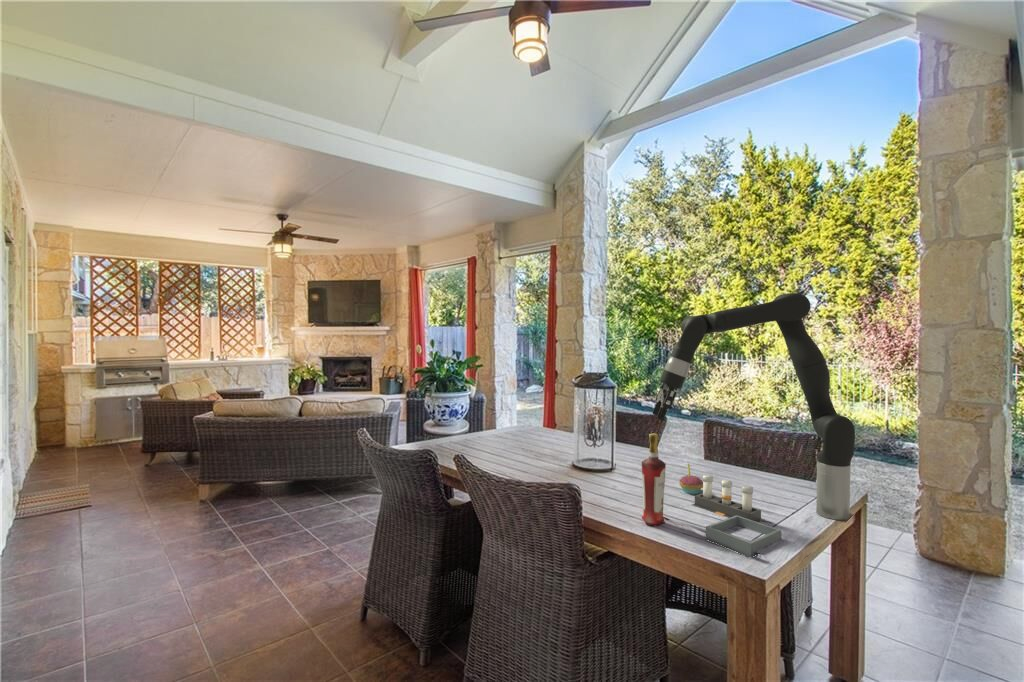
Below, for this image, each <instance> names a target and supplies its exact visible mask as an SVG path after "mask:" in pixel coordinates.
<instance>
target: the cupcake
mask: <svg viewBox="0 0 1024 682" xmlns="http://www.w3.org/2000/svg"><path fill="white" fill-rule="evenodd" d="M690 468H691V467H690V463H689V462H687V473H688V475H683V476H682V477H681V478H680V479H679V483H678V484H679V486H680V487H681V489H682V491H683V493H685V494H690V495H698V494H700V491H701V489H703V479H701V478H699V477H697V476H696V475H695V476H694V475H691V469H690Z"/></svg>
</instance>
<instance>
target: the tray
mask: <svg viewBox="0 0 1024 682" xmlns="http://www.w3.org/2000/svg"><path fill="white" fill-rule="evenodd" d="M736 526H740V527H742V528H745V529H748V530H751V531H753V532H756V533H757V532H758V534H759V533H760V534H763V535H762V536H760V537H758V538H756V539H753V540H751V541H749V540H746V539H744V538H740V537H738V536H735V535H732V534H729V533H727V532H724V531H725V530H728V529H730V528H732V527H733V528H734V527H736ZM706 540H709V541H711V542H714V543H717V544H719V545H722V546H724V547H726V548H729V549H731V550H733V551H736V552H738V553H740V554H739V555H741V554H743V555H745V556H744V557H746V556H748V557H753V556H755V555H757V556H758V554H759V555H761V553H760V552H757V551H758V550H760V549H763V548H765V547H767V546H770V545H771V544H773V543H776V542H778V541H780V540H782V529H779V528H777V527H773V526H769V525H767V524H764V523H761V522H755V521H752V520H749V519H746V518H743V517H740V516H737V515H736V516H733V517H730V518H728V517H727V518H726V519H722V520H720V521H717V522H715V523H713V524H709V525H707V526H705V541H706ZM709 541H708V542H709ZM711 542H710V543H711ZM714 543H713V544H714ZM719 545H718V546H719ZM724 547H723V548H724ZM726 548H725V549H726ZM731 550H730V551H731ZM733 551H732V552H733ZM736 552H735V553H736ZM738 553H737V554H738ZM743 555H742V556H743ZM748 557H747V558H748ZM755 557H756V556H755ZM753 558H754V557H753Z"/></svg>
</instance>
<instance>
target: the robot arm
mask: <svg viewBox="0 0 1024 682" xmlns="http://www.w3.org/2000/svg"><path fill="white" fill-rule="evenodd" d="M810 311H811V301H810V300H809V298H808V297H807V296H805V295H804V294H802V293H798V292H789V293H782V294H778V296H776V297H775V298H773V300H771V301H769V302H768V301H767V302H764V303H759V304H753V305H747V306H739V307H734V308H728V309H722V310H718V311H715V312H711V313H705V314H698V315H692V316H687V317H686V318H684V319H683V320H682V321H681V324H680V331H681V335H680V337H679V340H678V341H676V343H675V344H674V346H673V348H672V350H671V353H670V356H669V357H668V360H667V362H666V364H665V367H664V368H663V371H662V374H661V375H660V378H659V382H660V383H663V384H664V385H660V388H659V390H658V393H657V395H656V397H655V400H654V401H655V405H654V408H653V409H652V412H651V413H652V415H654V416H656V419H658V420H660V421H664V420H665V417H666V414H667V413H668V411H669V410H671V409H672V405H673V403H674V400H675V398H676V396H677V391H676V390H675V389H677V390H682V388H683V386H684V384H685V382H686V379H687V376H688V374H689V372H690V367H691V364H692V362H693V359H694V357H695V354H696V351H697V349H698V348H699V346H700V345H701V343H702V341H703V339H704V337H705V335H708V334H713V333H723V332H727V331H728V332H729V331H733V330H737V329H741V328H742V329H743V328H746V327H747V328H748V327H750V326H754V325H759V324H766V323H770V322H776V324H777V326H778V328H779V330H780V332H781V335H782V336H783V339H784V342H785V346H786V347H787V352H788V353H789V357H790V359H791V363H792V366H793V368H794V371H795V374H796V376H797V377H796V378H797V379H798V382H799V384H800V387H801V390H802V392H803V395H804V398H805V400H806V403H807V406H808V411H809V414H810V418H811V419H810V420H811V423H812V427H813V429H814V432H815V433H816V435H817V436H818V437H819V438H821V439H822V440H823V448H822V450H821V451H819V452H817V457H816V458H817V459H816V460H817V461H816V501H815V502H816V507H815V508H816V509H815V510H816V513H817V514H818V515H820V517H824V518H827V519H832V520H839V521H841V520H844V521H846V520H849V519H850V518H851V517H850V512H851V511H850V509H851V469H852V467H851V465H852V463H851V461H852V459H853V457H854V454H855V444H856V443H855V442H856V429H855V426H854V423H853V421H852V420H851V419H849V418H848V417H845V416H843V415H840V414H838V413H837V410H836V408H835V407H834V405H833V402H832V399H831V396H830V386H831V385H830V384H831V373H830V370H829V368H828V364H827V362H826V359H825V356H824V354H823V352H822V351H821V349H820V348H819V346H818V345H817V344H816V343H815V341H814V340H813V339H812V337H811V336H810V335H809V333H808V332H807V330H806V327H805V324H804V321H803V319H804V318H806V316H808V314H809V313H810Z"/></svg>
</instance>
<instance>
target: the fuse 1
mask: <svg viewBox="0 0 1024 682" xmlns="http://www.w3.org/2000/svg"><path fill="white" fill-rule="evenodd" d="M713 478H714V476H713V475H711V474H703V475H702V481H703V488H702V493H703V498H706V499H709V500H710V499H712V495H713V482H714V479H713Z"/></svg>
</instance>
